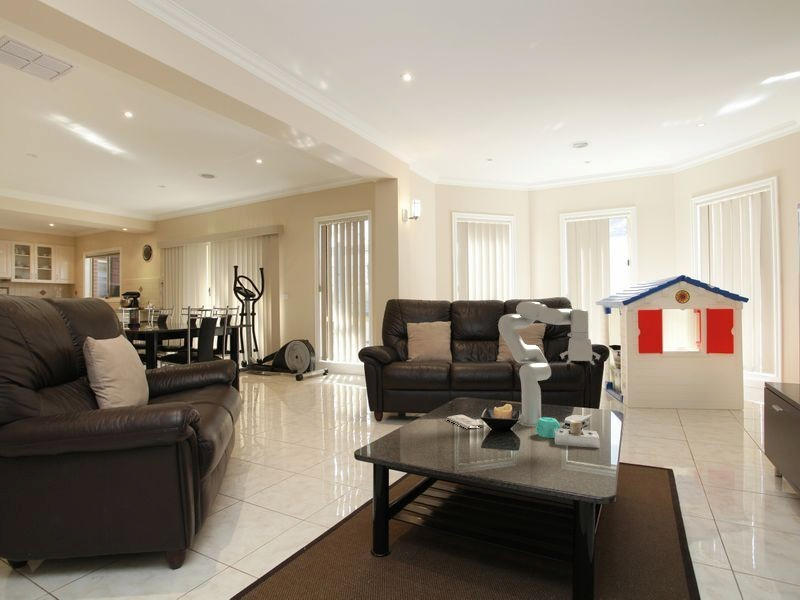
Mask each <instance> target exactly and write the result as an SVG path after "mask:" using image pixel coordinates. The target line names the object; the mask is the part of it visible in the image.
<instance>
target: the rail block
mask: <svg viewBox="0 0 800 600" xmlns="http://www.w3.org/2000/svg"><path fill="white" fill-rule="evenodd" d="M553 440H554V445H555V446H568V447H570V446H572V447H584V448H593V449H595V448H596V449H600V448H601V443H600V436H599V433H598V431H596V430H587V429H584V430H583V429H581V435H575V434H570V428H560V429H558V428H554V438H553Z"/></svg>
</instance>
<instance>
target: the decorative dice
mask: <svg viewBox="0 0 800 600" xmlns="http://www.w3.org/2000/svg"><path fill="white" fill-rule="evenodd" d="M554 428H558V429H561V425H560V423H559V421H558V420H557V419H556V418H553V417H544V416H543V417H541V418H540V419H539V420H538V421H537V423H536V427H535V431H536V433H537V435H538V436H539V437H541V438H546V439H554Z"/></svg>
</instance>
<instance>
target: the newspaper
mask: <svg viewBox="0 0 800 600" xmlns="http://www.w3.org/2000/svg"><path fill="white" fill-rule="evenodd" d="M446 419H449V420H451V421H453V422H455V423H457V424H458V425H460V426H462V427H461V428H463V427H464V429H465V428H466V429H467V428H468V427H470V426H478V427H483V428H485V427H486V425H485V424H483V423H481V422H479V421H477V420H475V419H473V418H471V417H469V416H467V415H464V414H457V415H456V414H455V415H451V416H448V417H446ZM466 429H465V430H466Z"/></svg>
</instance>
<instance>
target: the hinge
mask: <svg viewBox="0 0 800 600" xmlns="http://www.w3.org/2000/svg"><path fill="white" fill-rule="evenodd" d="M590 417H593V414H590V413H589V414H587V415H582V414H581V415H580V414H572V415H569V416H567V417H565V418H564V421H563V423H564V424H563V425H564V427H565V428H566V429H570V420H578V421H581V429H582V428H584V427H585V426H587V425H589V424H590V421H589V419H590Z"/></svg>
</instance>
